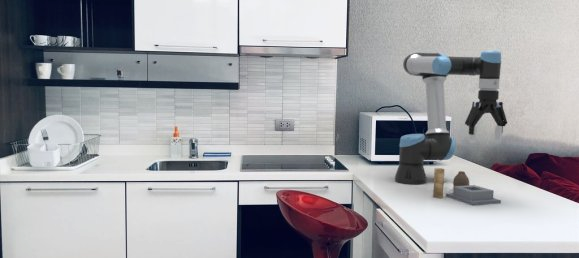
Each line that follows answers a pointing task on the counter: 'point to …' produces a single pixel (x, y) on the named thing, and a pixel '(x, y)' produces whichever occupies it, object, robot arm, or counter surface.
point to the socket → (473, 195)
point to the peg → (438, 183)
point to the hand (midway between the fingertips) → (485, 142)
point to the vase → (461, 179)
